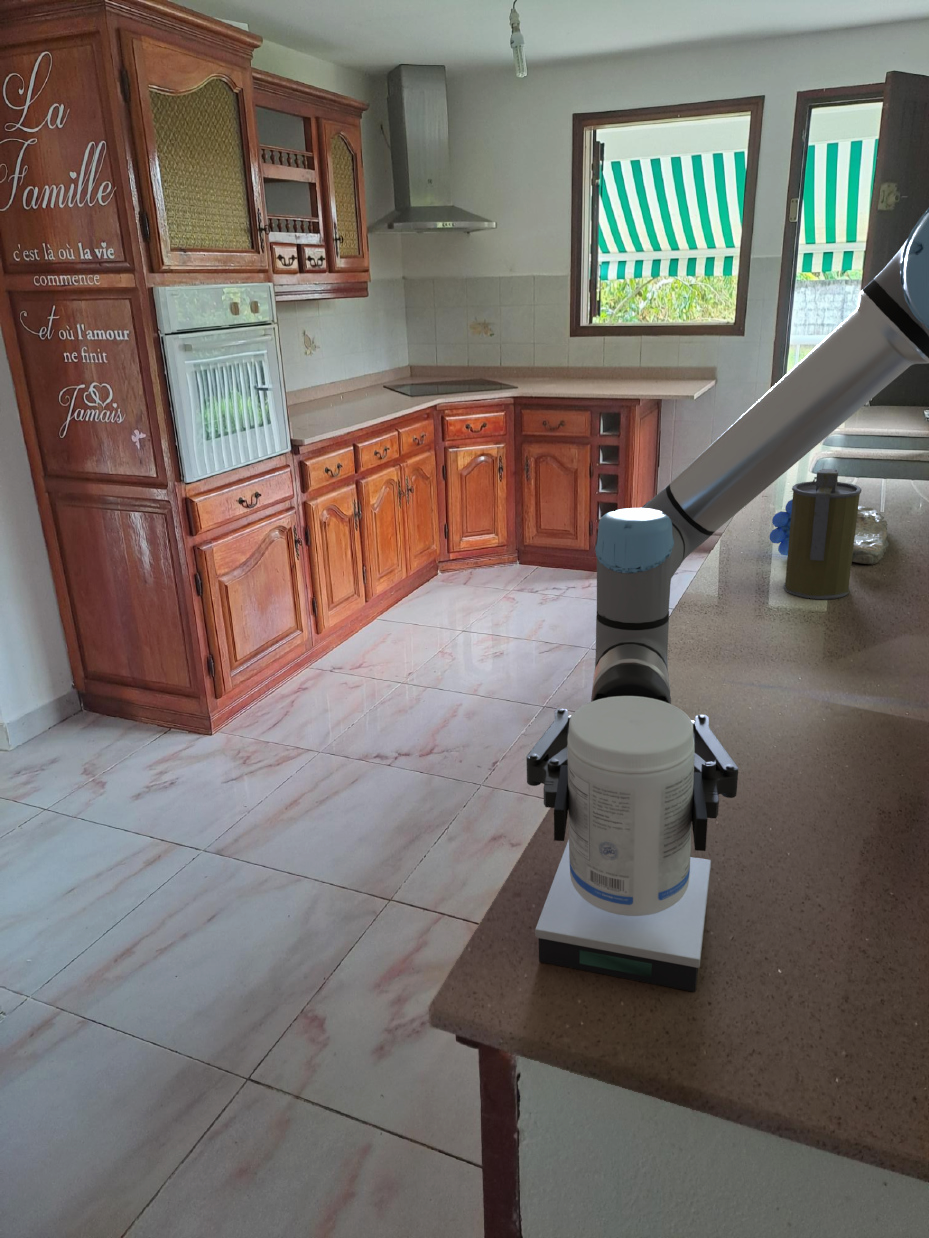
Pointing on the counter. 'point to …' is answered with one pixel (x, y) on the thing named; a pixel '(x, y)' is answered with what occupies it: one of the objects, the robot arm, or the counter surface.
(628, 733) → the supplement tub
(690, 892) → the kitchen scale
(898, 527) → the counter surface
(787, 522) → the grapes
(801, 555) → the canister
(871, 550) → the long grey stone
